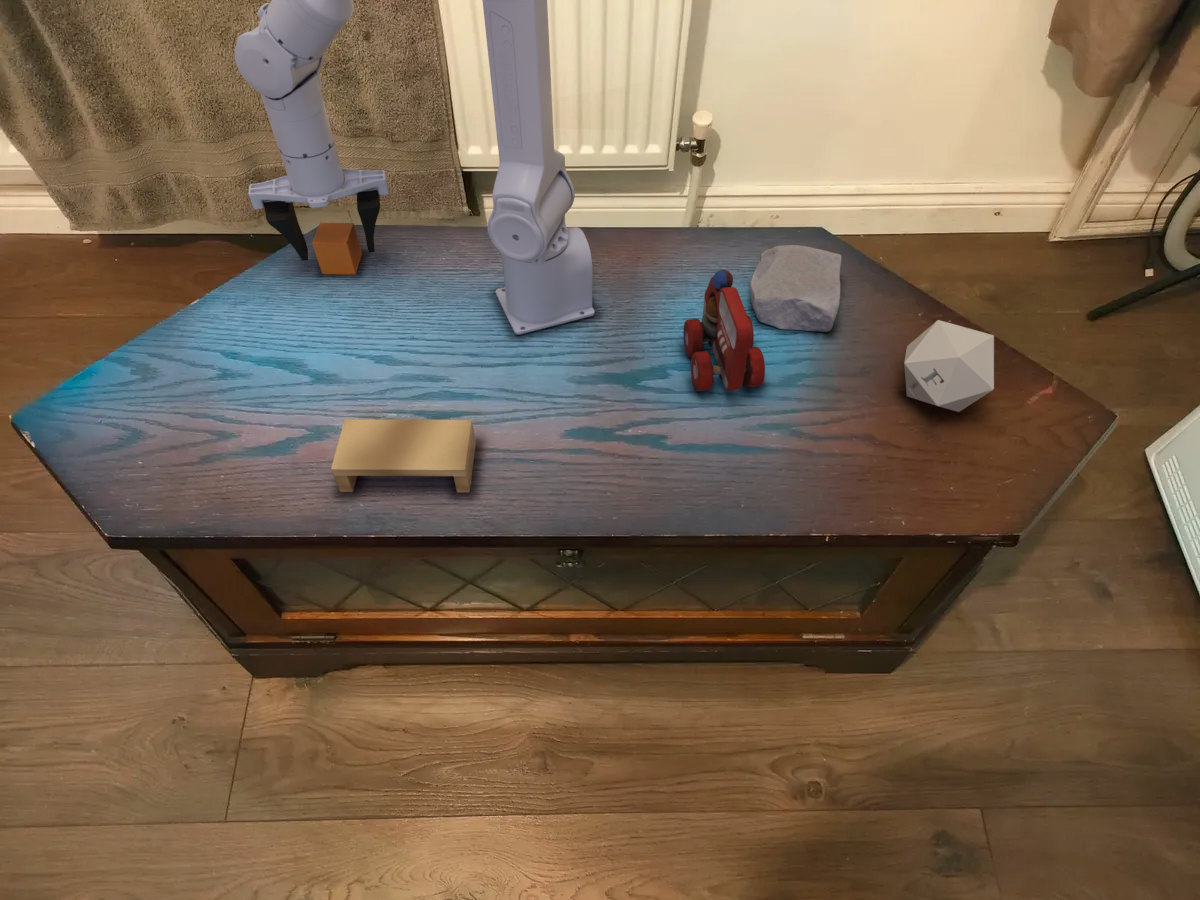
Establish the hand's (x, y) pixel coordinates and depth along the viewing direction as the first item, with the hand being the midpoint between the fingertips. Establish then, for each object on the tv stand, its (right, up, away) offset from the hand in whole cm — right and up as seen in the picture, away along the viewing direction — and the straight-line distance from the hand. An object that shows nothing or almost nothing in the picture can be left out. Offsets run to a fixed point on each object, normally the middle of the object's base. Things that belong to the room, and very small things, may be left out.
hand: (338, 251), depth 92 cm
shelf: (+13, -25, -18) cm, 34 cm away
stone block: (+53, -6, -1) cm, 54 cm away
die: (+66, -18, -11) cm, 69 cm away
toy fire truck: (+44, -14, -9) cm, 47 cm away
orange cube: (0, -1, +1) cm, 2 cm away
